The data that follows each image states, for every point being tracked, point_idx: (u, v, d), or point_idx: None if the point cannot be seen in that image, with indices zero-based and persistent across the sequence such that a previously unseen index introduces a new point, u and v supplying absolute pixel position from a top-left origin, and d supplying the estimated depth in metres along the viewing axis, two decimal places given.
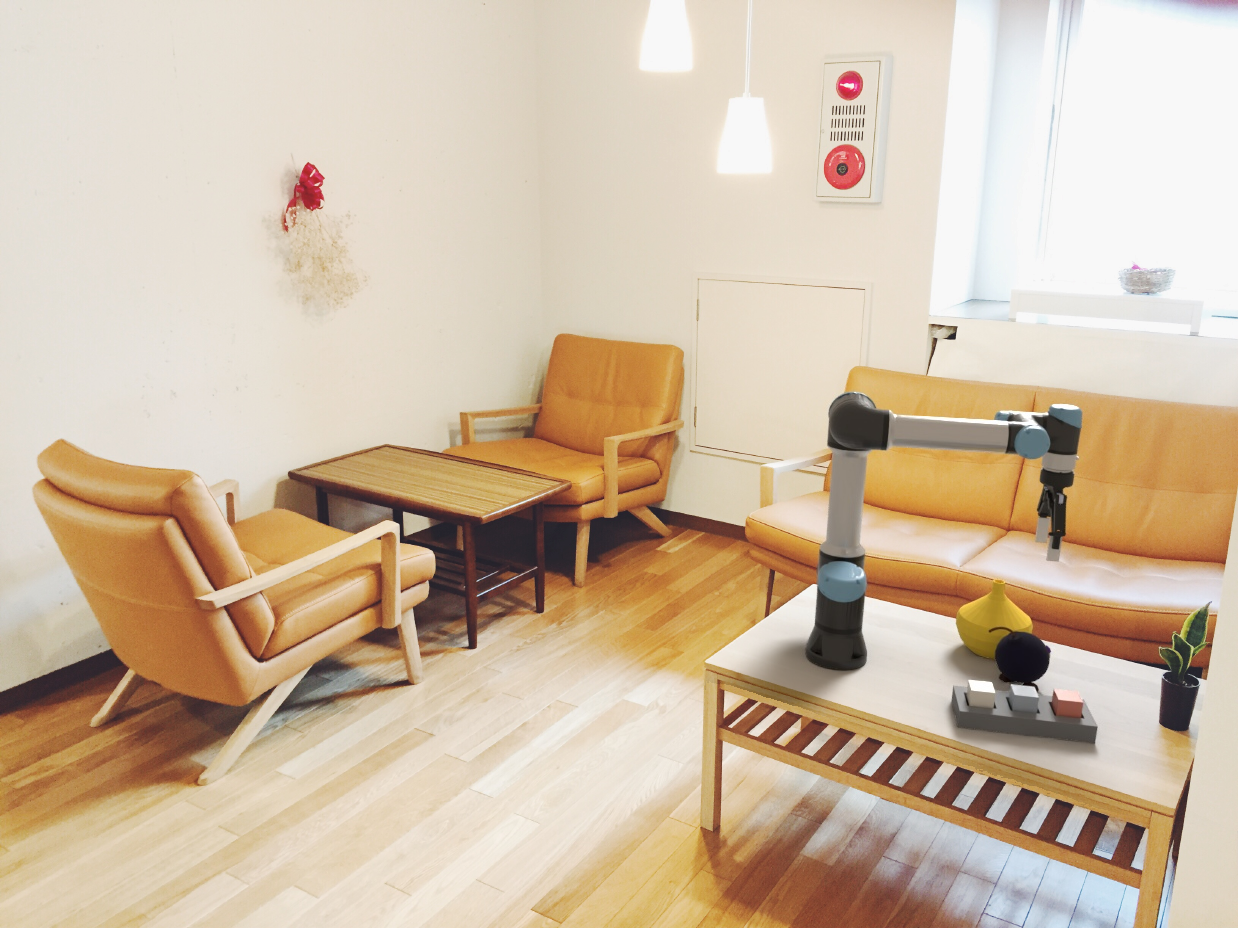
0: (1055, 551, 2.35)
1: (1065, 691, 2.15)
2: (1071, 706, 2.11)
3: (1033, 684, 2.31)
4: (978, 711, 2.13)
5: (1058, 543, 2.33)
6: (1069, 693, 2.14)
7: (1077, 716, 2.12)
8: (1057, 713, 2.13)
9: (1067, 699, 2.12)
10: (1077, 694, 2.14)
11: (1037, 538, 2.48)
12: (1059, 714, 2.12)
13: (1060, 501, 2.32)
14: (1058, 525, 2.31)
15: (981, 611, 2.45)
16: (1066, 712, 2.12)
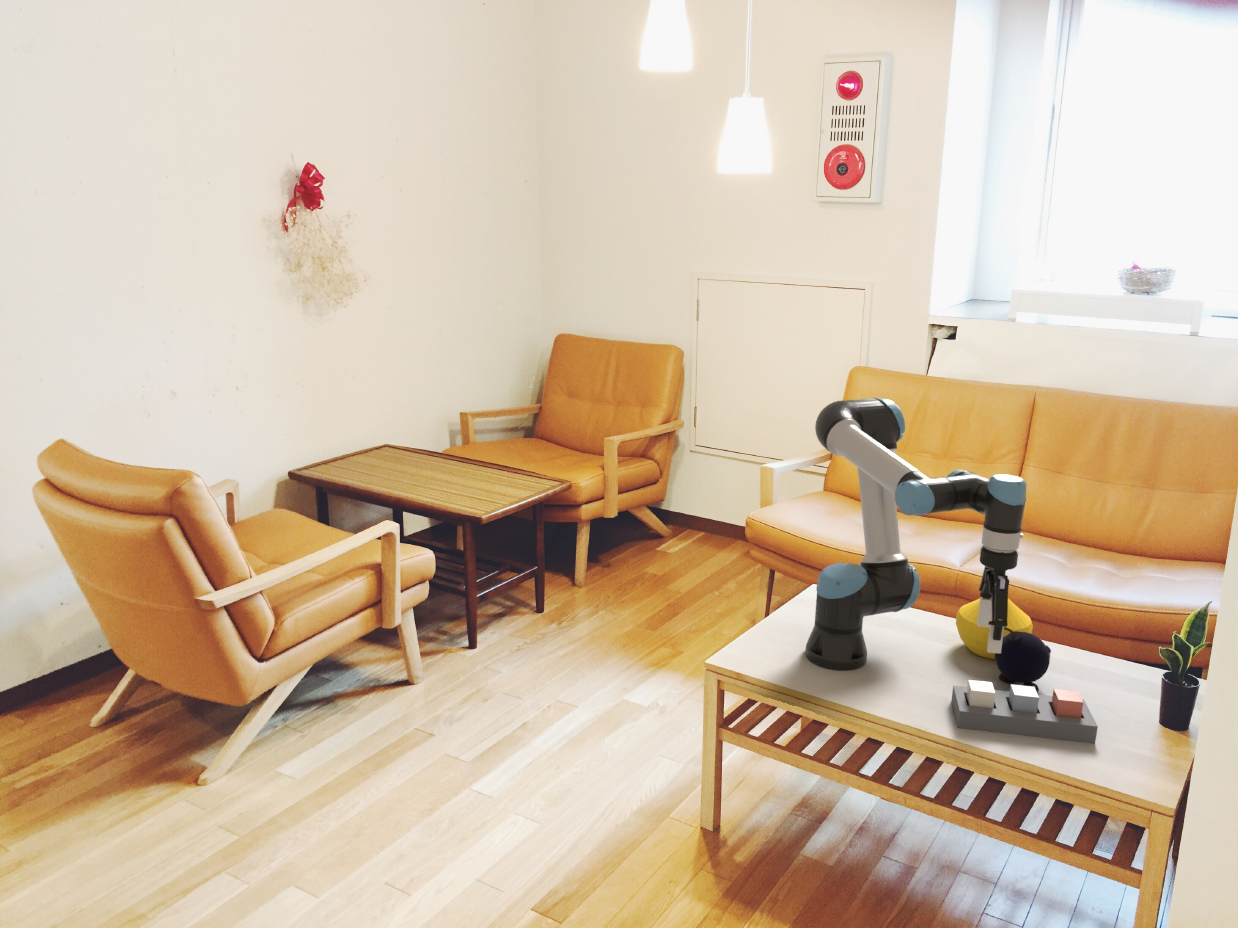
0: (996, 642, 2.07)
1: (1065, 691, 2.15)
2: (1071, 706, 2.11)
3: (1033, 684, 2.31)
4: (978, 711, 2.13)
5: (999, 633, 2.05)
6: (1069, 693, 2.14)
7: (1077, 716, 2.12)
8: (1057, 713, 2.13)
9: (1067, 699, 2.12)
10: (1077, 694, 2.14)
11: (979, 622, 2.20)
12: (1059, 714, 2.12)
13: (1001, 586, 2.04)
14: (999, 614, 2.03)
15: None
16: (1066, 712, 2.12)
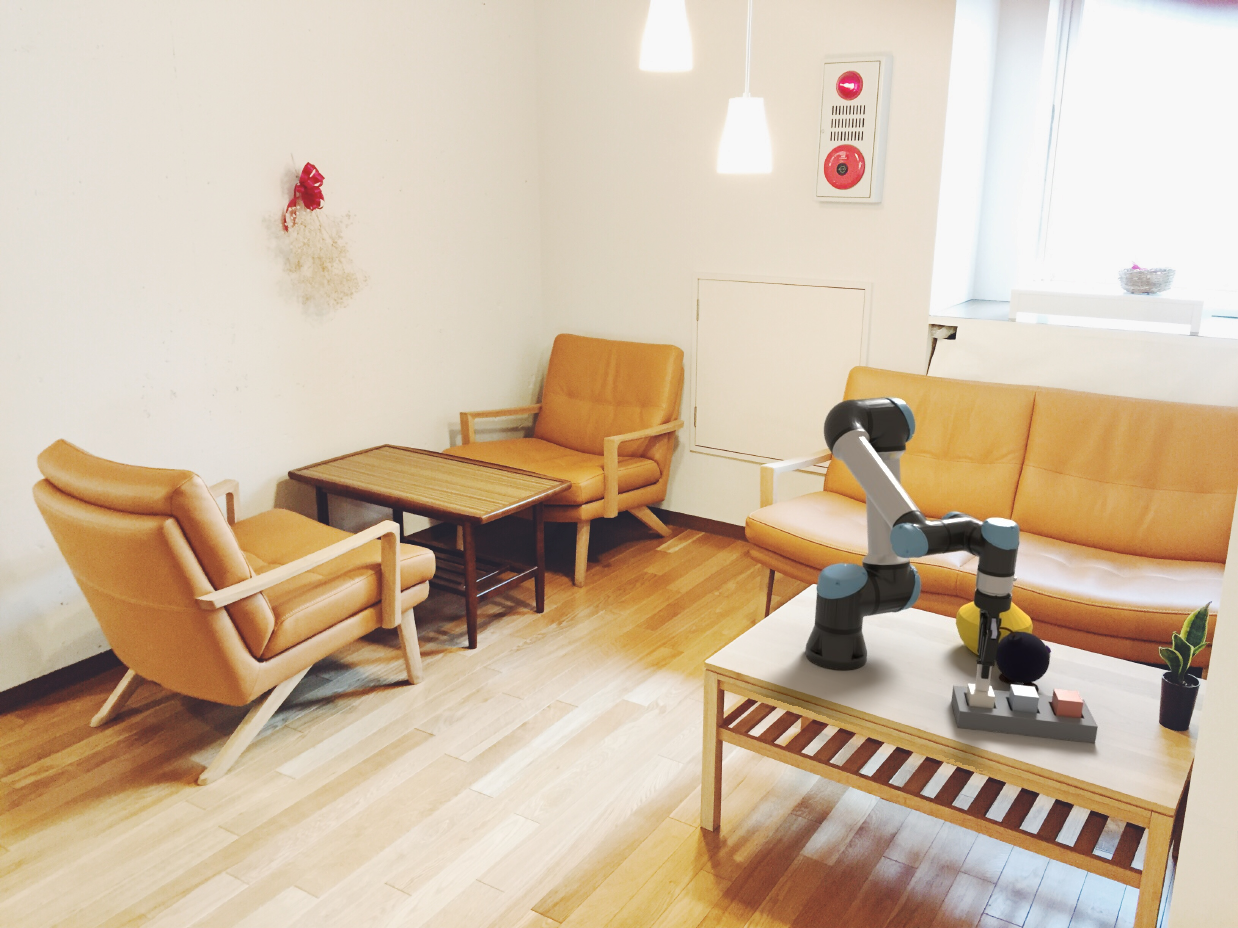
0: (984, 680, 2.16)
1: (1065, 691, 2.15)
2: (1071, 706, 2.11)
3: (1033, 684, 2.31)
4: (978, 711, 2.13)
5: (987, 672, 2.14)
6: (1069, 693, 2.14)
7: (1077, 716, 2.12)
8: (1057, 713, 2.13)
9: (1067, 699, 2.12)
10: (1077, 694, 2.14)
11: None
12: (1059, 714, 2.12)
13: (993, 637, 2.08)
14: (987, 657, 2.11)
15: None
16: (1066, 712, 2.12)
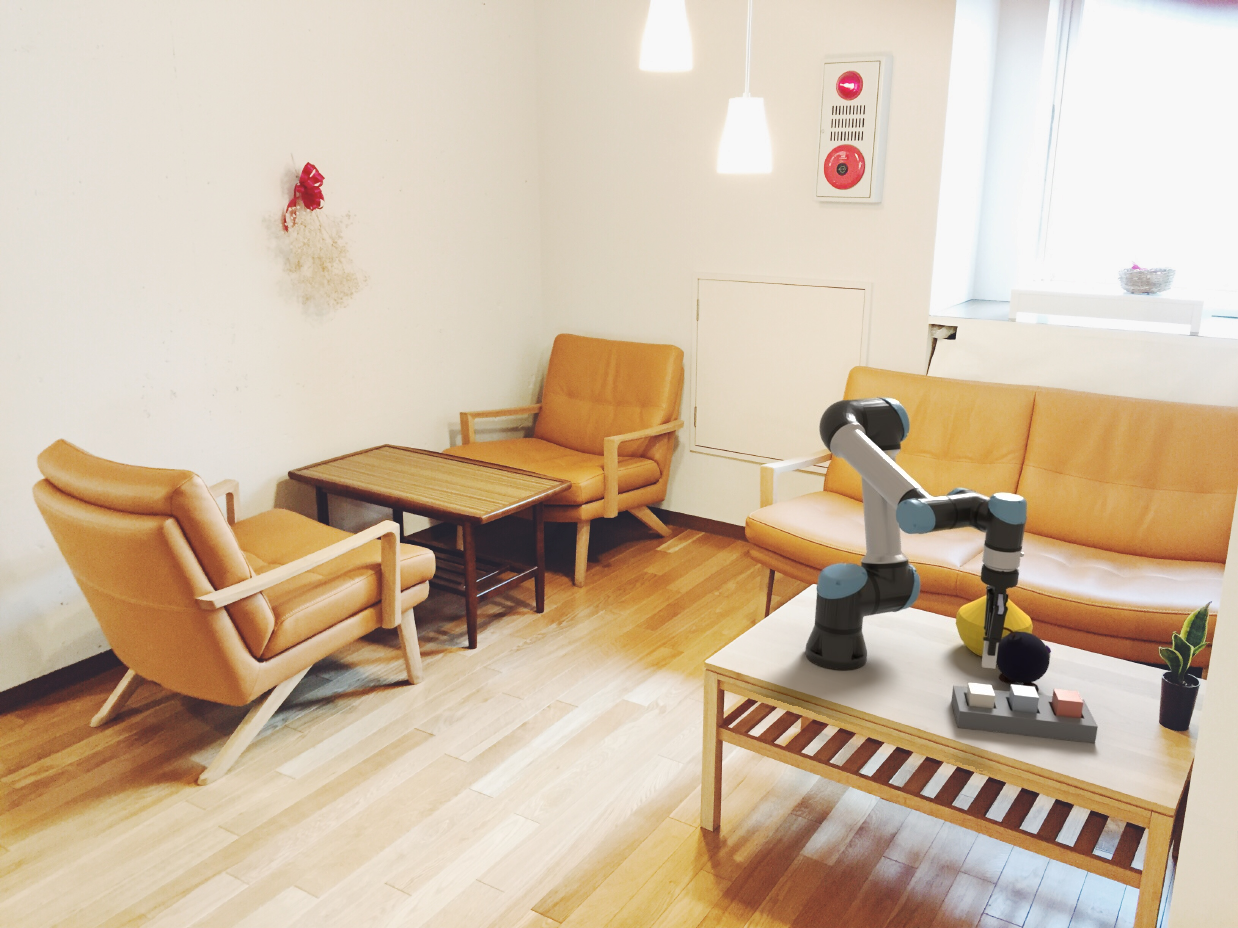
0: (991, 657, 2.14)
1: (1065, 691, 2.15)
2: (1071, 706, 2.11)
3: (1033, 684, 2.31)
4: (978, 711, 2.13)
5: (994, 649, 2.12)
6: (1069, 693, 2.14)
7: (1077, 716, 2.12)
8: (1057, 713, 2.13)
9: (1067, 699, 2.12)
10: (1077, 694, 2.14)
11: None
12: (1059, 714, 2.12)
13: (999, 613, 2.06)
14: (994, 634, 2.09)
15: (981, 611, 2.45)
16: (1066, 712, 2.12)
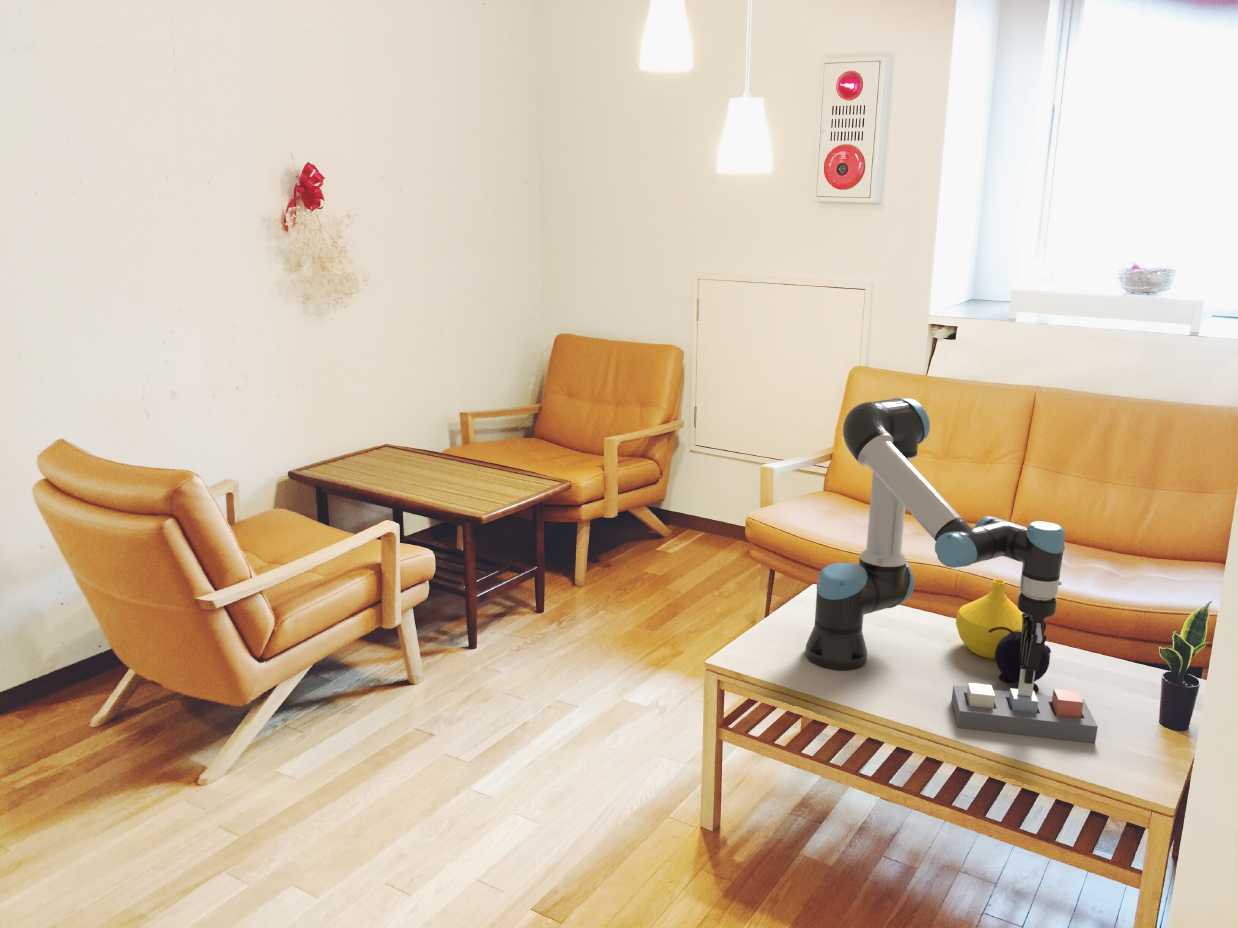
0: (1028, 685, 2.14)
1: (1065, 691, 2.15)
2: (1071, 706, 2.11)
3: None
4: (978, 711, 2.13)
5: (1031, 677, 2.12)
6: (1069, 693, 2.14)
7: (1077, 716, 2.12)
8: (1057, 713, 2.13)
9: (1067, 699, 2.12)
10: (1077, 694, 2.14)
11: None
12: (1059, 714, 2.12)
13: (1038, 642, 2.06)
14: (1031, 662, 2.09)
15: (981, 611, 2.45)
16: (1066, 712, 2.12)
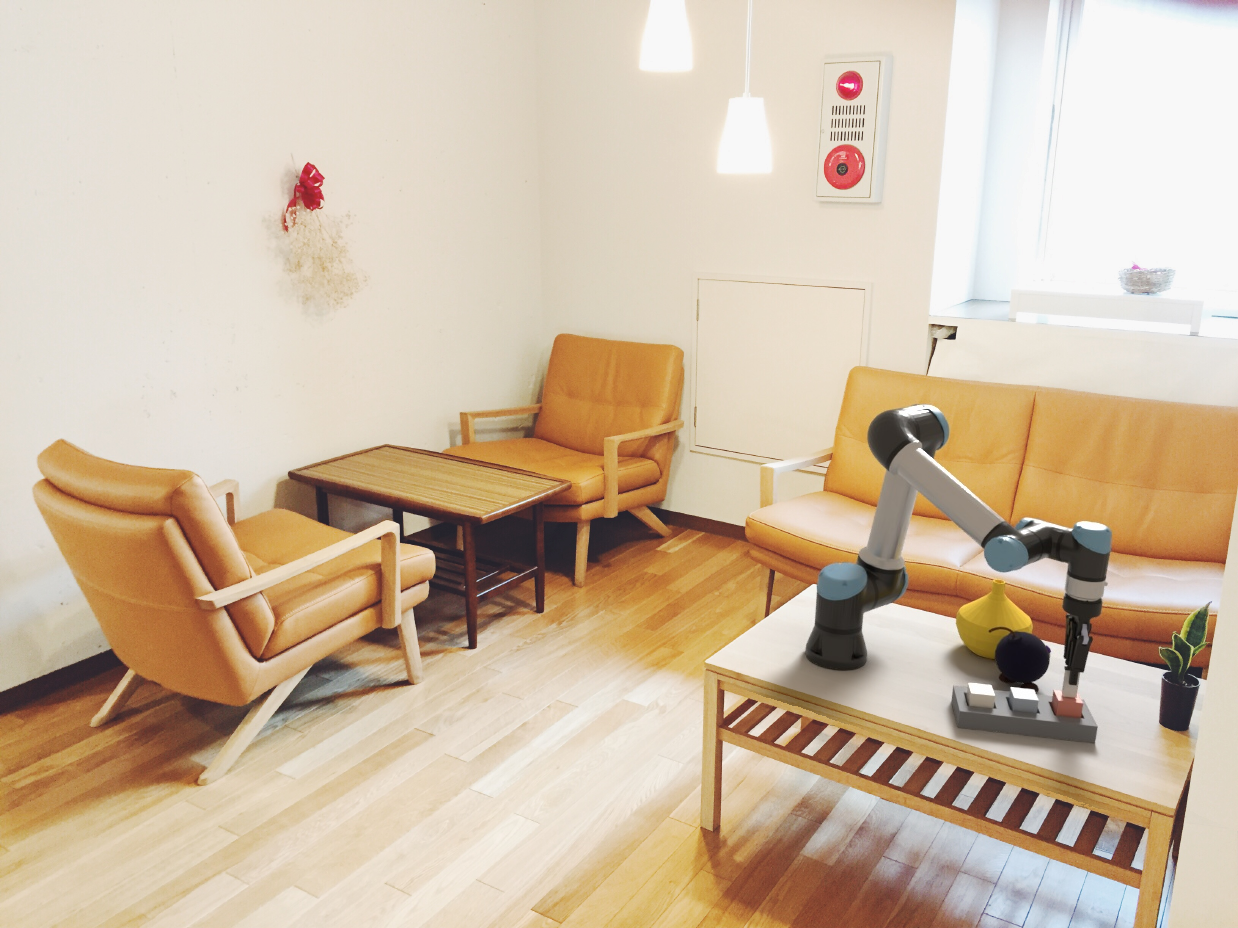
0: (1072, 686, 2.12)
1: None
2: (1071, 707, 2.12)
3: (1033, 684, 2.31)
4: (978, 711, 2.13)
5: (1076, 679, 2.10)
6: None
7: (1077, 717, 2.12)
8: (1057, 714, 2.13)
9: (1067, 700, 2.12)
10: (1077, 695, 2.14)
11: None
12: (1059, 715, 2.13)
13: (1084, 643, 2.04)
14: (1077, 664, 2.07)
15: (981, 611, 2.45)
16: (1066, 713, 2.12)
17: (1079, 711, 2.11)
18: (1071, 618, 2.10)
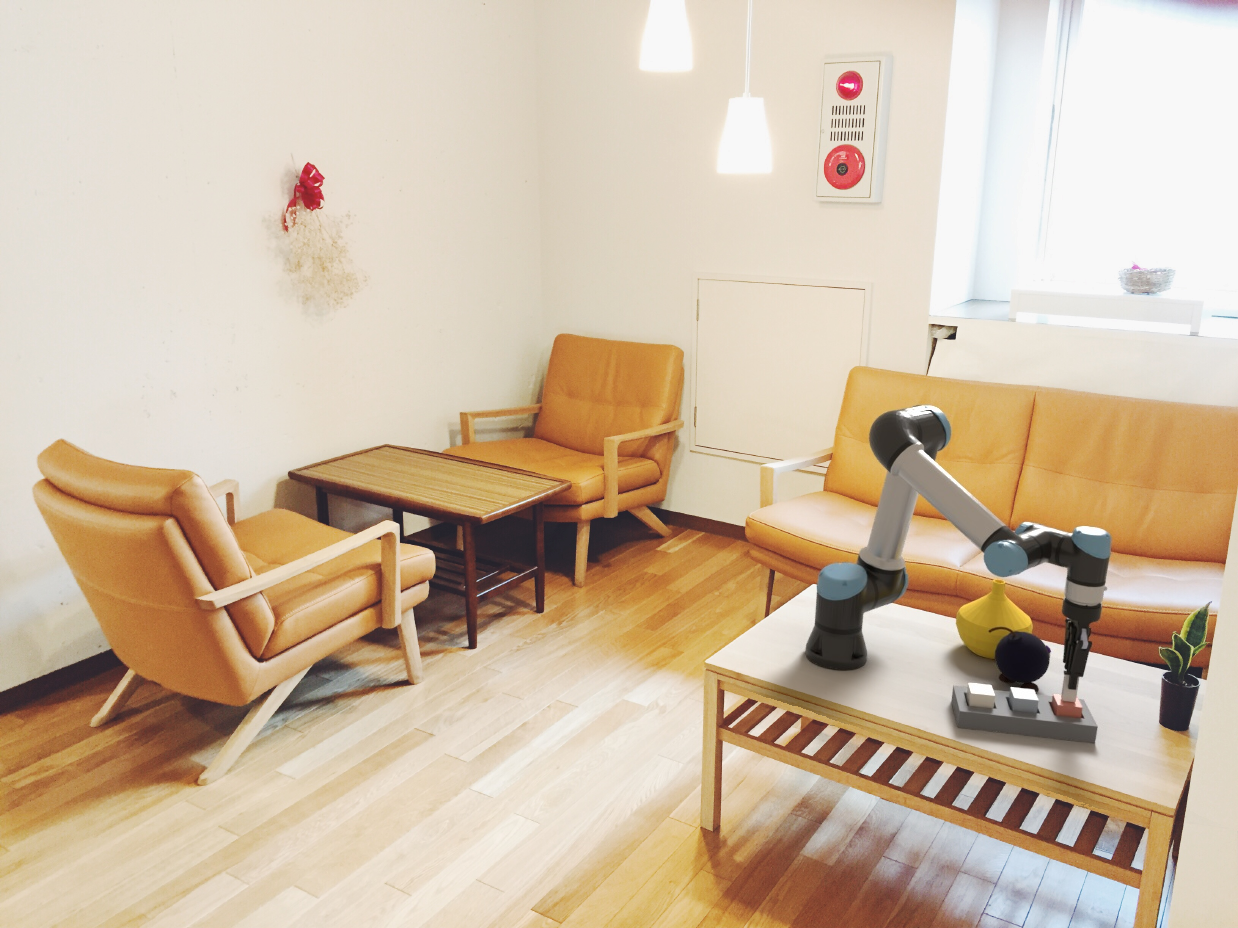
0: (1071, 691, 2.12)
1: None
2: (1070, 711, 2.12)
3: (1033, 684, 2.31)
4: (978, 711, 2.13)
5: (1075, 683, 2.11)
6: None
7: None
8: None
9: (1066, 704, 2.12)
10: (1076, 699, 2.14)
11: None
12: None
13: (1083, 647, 2.04)
14: (1076, 668, 2.07)
15: (981, 611, 2.45)
16: None
17: (1078, 715, 2.12)
18: (1070, 623, 2.10)
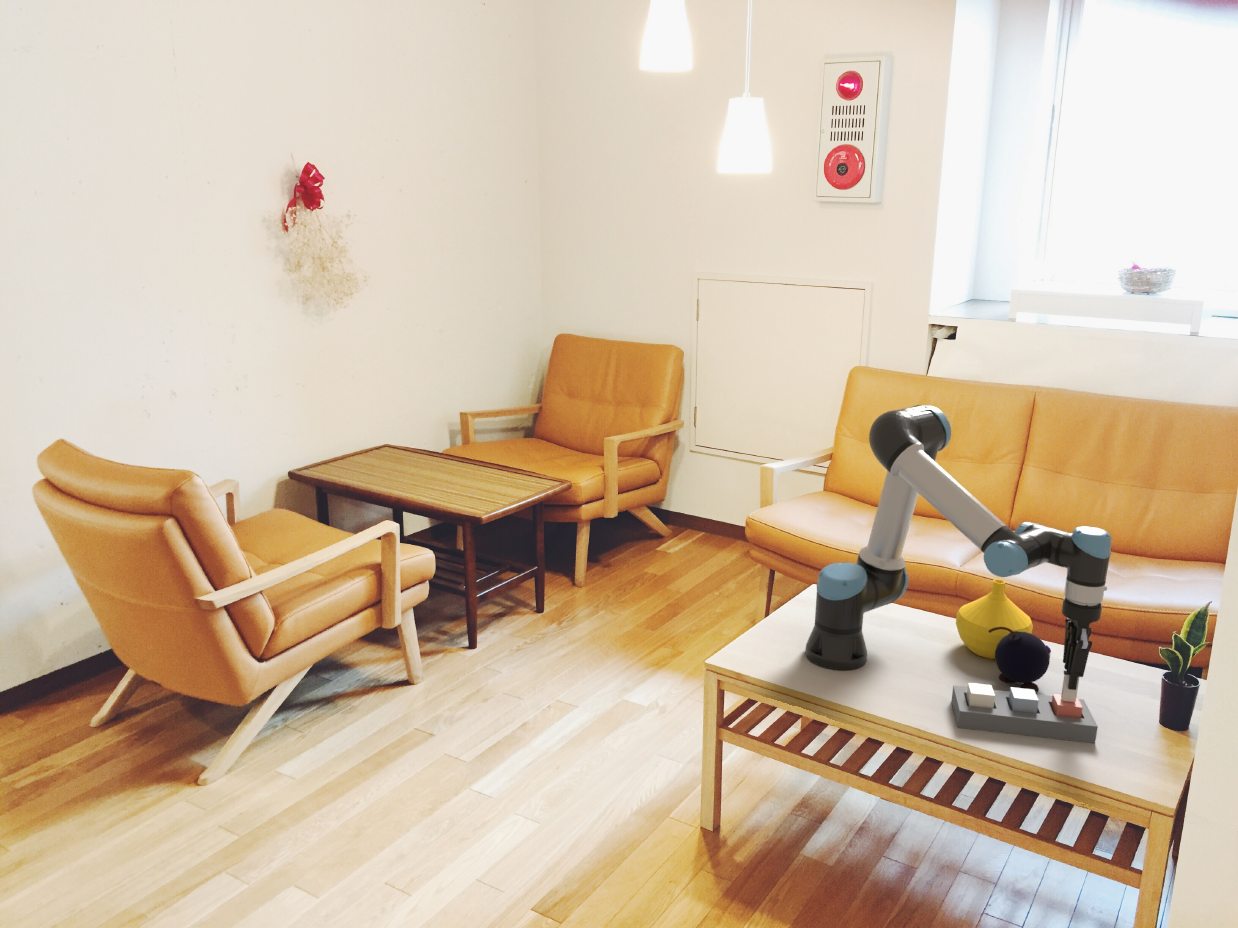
0: (1071, 691, 2.12)
1: None
2: (1070, 711, 2.12)
3: (1033, 684, 2.31)
4: (978, 711, 2.13)
5: (1075, 683, 2.11)
6: None
7: None
8: None
9: (1066, 704, 2.12)
10: (1076, 699, 2.14)
11: None
12: None
13: (1083, 647, 2.04)
14: (1076, 668, 2.07)
15: (981, 611, 2.45)
16: None
17: (1078, 715, 2.12)
18: (1070, 623, 2.10)
